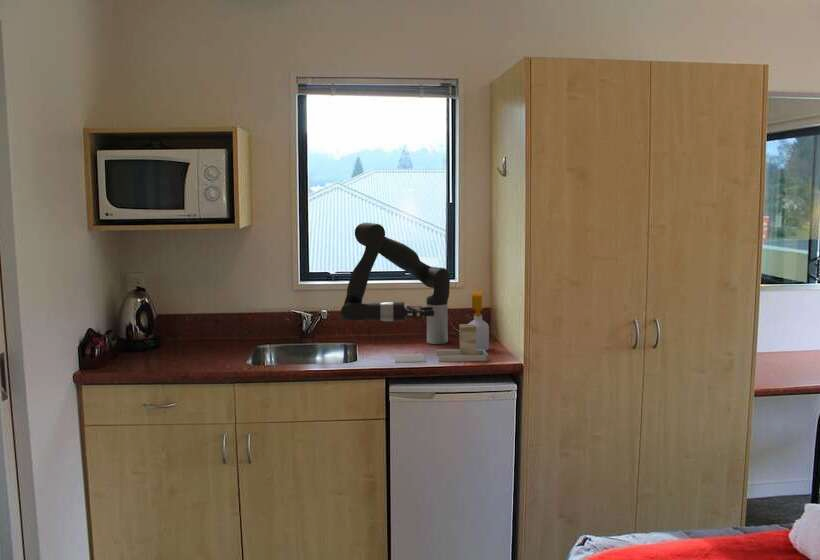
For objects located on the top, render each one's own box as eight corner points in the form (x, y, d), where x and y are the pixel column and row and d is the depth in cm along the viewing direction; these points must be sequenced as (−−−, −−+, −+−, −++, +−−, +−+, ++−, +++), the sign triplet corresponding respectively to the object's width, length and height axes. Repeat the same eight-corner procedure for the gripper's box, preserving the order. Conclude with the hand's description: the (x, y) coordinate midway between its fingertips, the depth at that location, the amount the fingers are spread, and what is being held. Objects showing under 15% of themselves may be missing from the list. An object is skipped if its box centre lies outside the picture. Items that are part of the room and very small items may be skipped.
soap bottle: (490, 347, 272) (490, 290, 269) (486, 352, 264) (487, 293, 261) (469, 346, 275) (469, 289, 272) (465, 351, 266) (465, 292, 263)
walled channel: (436, 354, 260) (436, 349, 260) (484, 353, 261) (484, 348, 261) (438, 361, 249) (438, 356, 249) (488, 360, 250) (488, 355, 249)
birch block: (459, 356, 257) (459, 324, 256) (474, 355, 258) (474, 324, 256) (460, 359, 253) (460, 326, 251) (476, 358, 253) (476, 326, 251)
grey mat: (394, 355, 260) (394, 354, 260) (424, 354, 261) (424, 353, 260) (395, 362, 248) (394, 361, 248) (425, 361, 249) (425, 361, 249)
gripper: (392, 304, 244) (434, 304, 245) (392, 299, 258) (432, 299, 259) (392, 324, 245) (434, 324, 246) (392, 318, 259) (432, 317, 260)
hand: (433, 311), depth 252 cm, fingers open, 8 cm apart
